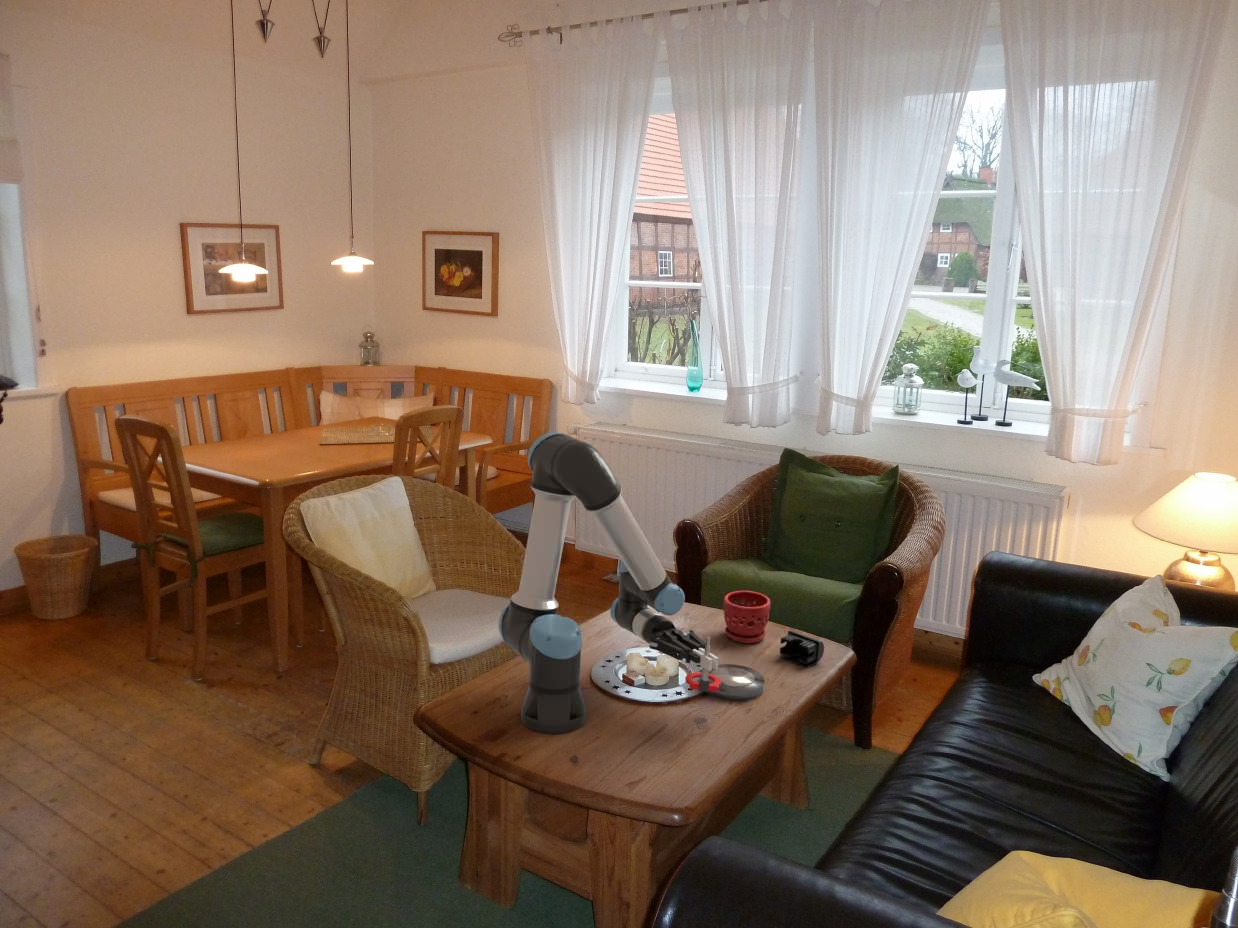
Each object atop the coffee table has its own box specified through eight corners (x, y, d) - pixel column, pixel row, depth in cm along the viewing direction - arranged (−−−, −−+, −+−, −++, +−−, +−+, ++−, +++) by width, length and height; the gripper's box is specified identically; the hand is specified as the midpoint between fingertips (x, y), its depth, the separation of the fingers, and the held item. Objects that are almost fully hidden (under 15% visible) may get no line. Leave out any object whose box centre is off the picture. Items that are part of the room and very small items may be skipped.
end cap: (823, 662, 263) (825, 638, 261) (808, 669, 258) (810, 645, 256) (792, 650, 270) (794, 627, 268) (777, 657, 265) (779, 634, 263)
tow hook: (684, 675, 232) (685, 690, 223) (689, 623, 230) (690, 636, 221) (720, 678, 232) (721, 693, 223) (724, 626, 230) (726, 639, 221)
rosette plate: (705, 700, 237) (705, 689, 237) (696, 672, 253) (697, 662, 252) (769, 701, 238) (770, 690, 238) (757, 673, 254) (757, 663, 253)
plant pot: (717, 628, 283) (719, 590, 280) (761, 628, 284) (764, 590, 282) (726, 646, 270) (729, 606, 267) (772, 646, 272) (776, 606, 269)
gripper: (676, 638, 244) (736, 674, 225) (629, 647, 236) (687, 685, 217) (678, 610, 243) (739, 643, 223) (631, 618, 235) (690, 654, 216)
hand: (713, 664), depth 220 cm, fingers closed on tow hook
